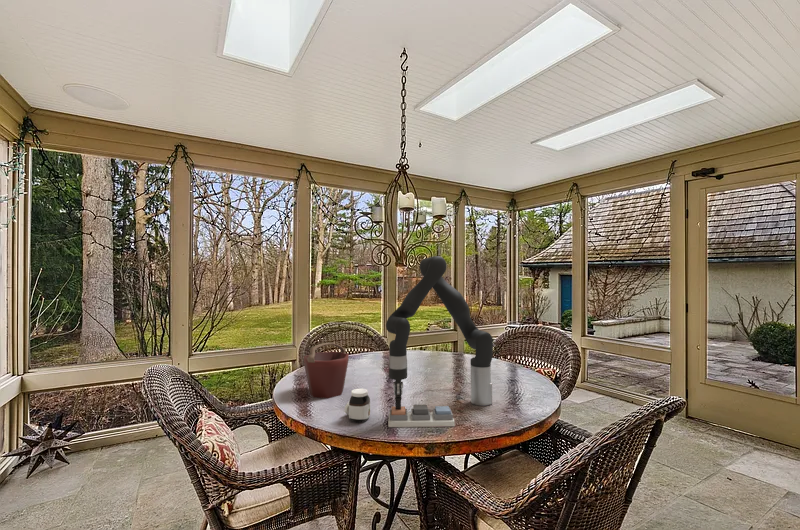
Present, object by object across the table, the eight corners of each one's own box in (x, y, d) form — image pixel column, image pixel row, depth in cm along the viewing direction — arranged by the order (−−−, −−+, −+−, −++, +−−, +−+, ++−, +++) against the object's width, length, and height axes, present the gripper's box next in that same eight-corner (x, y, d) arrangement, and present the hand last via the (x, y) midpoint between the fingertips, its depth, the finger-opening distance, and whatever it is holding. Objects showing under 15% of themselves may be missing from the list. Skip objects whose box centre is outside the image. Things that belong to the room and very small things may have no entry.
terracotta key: (405, 412, 159) (405, 406, 159) (405, 417, 153) (405, 411, 153) (391, 412, 158) (391, 406, 159) (391, 417, 153) (391, 411, 153)
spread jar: (364, 424, 153) (363, 395, 153) (338, 422, 156) (338, 393, 156) (374, 414, 165) (374, 386, 165) (349, 411, 168) (349, 384, 168)
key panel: (450, 416, 161) (450, 407, 161) (454, 426, 151) (454, 416, 151) (388, 417, 161) (388, 407, 161) (388, 427, 151) (388, 416, 151)
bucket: (313, 403, 178) (313, 349, 178) (293, 392, 195) (293, 343, 195) (358, 393, 193) (357, 343, 194) (335, 383, 210) (335, 337, 211)
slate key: (448, 411, 159) (448, 406, 159) (450, 417, 153) (450, 411, 153) (435, 412, 159) (435, 406, 159) (436, 417, 153) (436, 411, 153)
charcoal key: (426, 410, 159) (426, 404, 159) (428, 415, 153) (428, 409, 153) (413, 410, 159) (413, 404, 159) (414, 415, 153) (414, 409, 153)
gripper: (407, 370, 150) (408, 415, 149) (406, 362, 163) (406, 403, 162) (388, 370, 149) (388, 415, 149) (389, 362, 163) (389, 403, 162)
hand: (398, 408), depth 156 cm, fingers closed
